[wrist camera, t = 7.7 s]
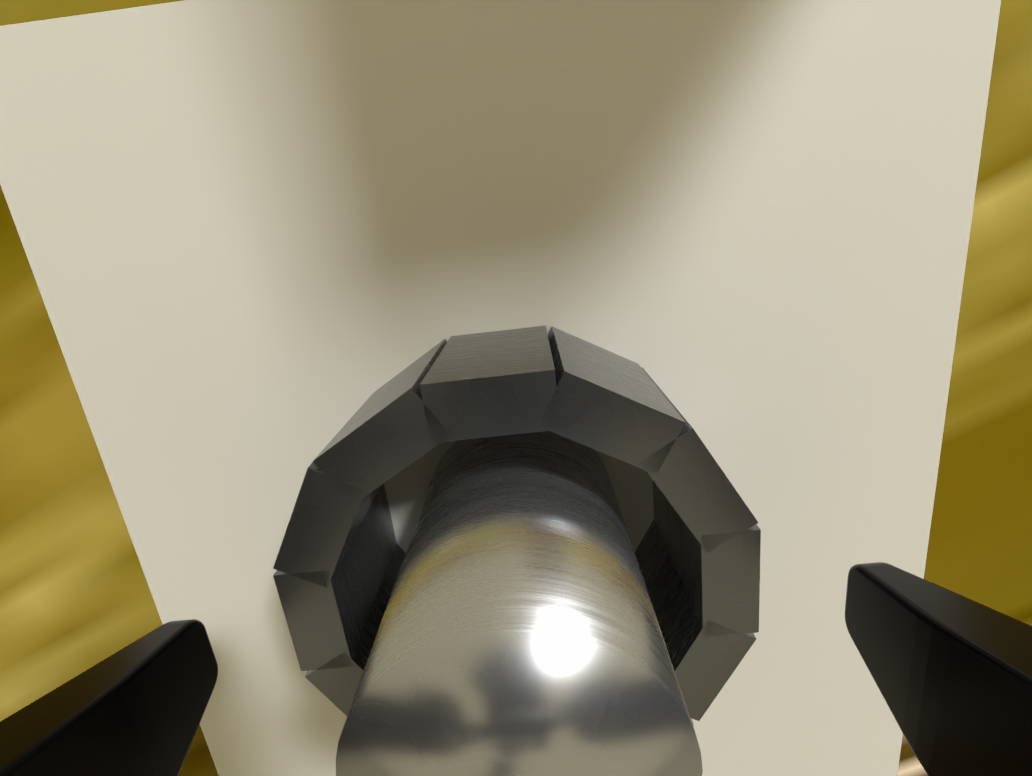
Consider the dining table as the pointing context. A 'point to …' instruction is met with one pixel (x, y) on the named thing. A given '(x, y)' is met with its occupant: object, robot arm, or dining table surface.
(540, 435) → the steel pin
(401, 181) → the base plate
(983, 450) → the dining table surface
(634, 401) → the gunmetal ring
